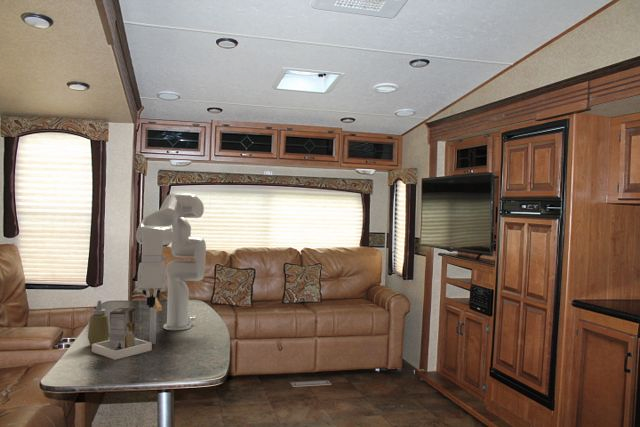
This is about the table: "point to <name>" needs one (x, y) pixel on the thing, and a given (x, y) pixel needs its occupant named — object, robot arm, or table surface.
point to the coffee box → (122, 328)
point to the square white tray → (138, 347)
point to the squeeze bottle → (98, 325)
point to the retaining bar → (157, 305)
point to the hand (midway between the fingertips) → (150, 306)
